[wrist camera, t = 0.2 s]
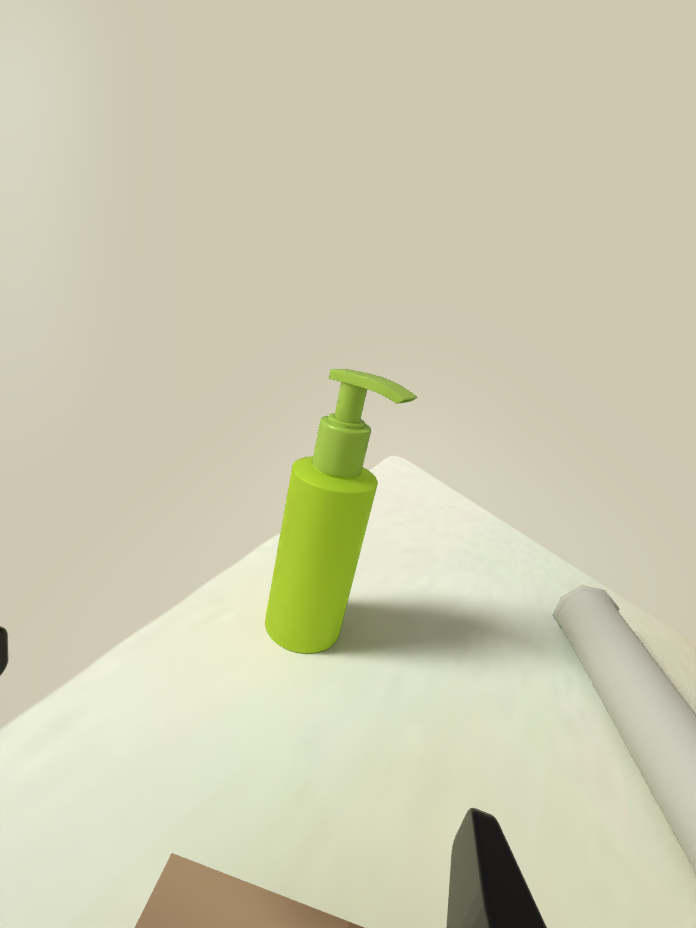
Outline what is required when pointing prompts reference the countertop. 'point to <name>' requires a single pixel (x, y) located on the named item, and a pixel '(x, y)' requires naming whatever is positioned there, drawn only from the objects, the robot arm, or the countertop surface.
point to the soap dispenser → (326, 521)
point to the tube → (638, 704)
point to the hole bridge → (223, 903)
